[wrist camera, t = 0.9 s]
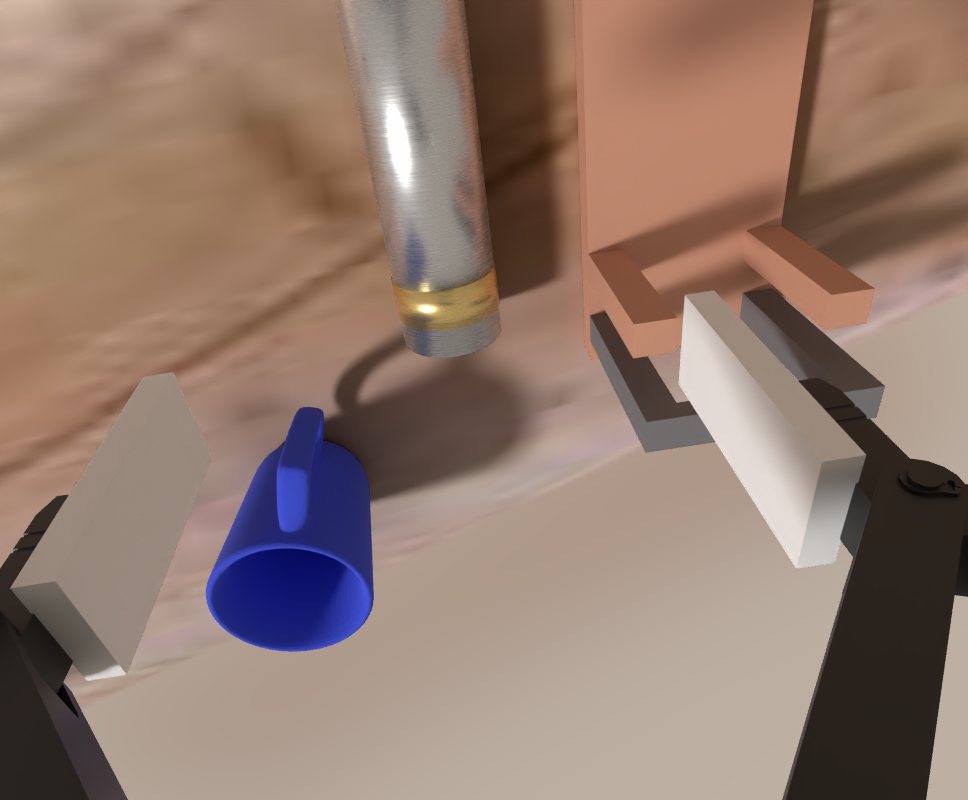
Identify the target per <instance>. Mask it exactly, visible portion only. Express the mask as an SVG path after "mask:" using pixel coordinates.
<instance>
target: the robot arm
mask: <svg viewBox="0 0 968 800" xmlns="http://www.w3.org/2000/svg"><path fill="white" fill-rule="evenodd" d="M679 385H680V387H681V388H682V390H683V392H684V393H685V395H686V396H687V398H688V399H689V401H690V403H691V404H692V406H693V407H694V409H695V410H696V412H697V414H698V415H699V417H700V418H701V420H702V421H703V423H704V425H705V426H706V428H707V429H708V431H709V432H710V434H711V435H712V437H713V439H714V440H715V442H716V443H717V445H718V446H719V448H720V450H721V451H722V453H723V454H724V456H725V457H726V459H727V461H728V462H729V464H730V465H731V467H732V468H733V470H734V472H735V473H736V475H737V476H738V478H739V479H740V481H741V482H742V484H743V486H744V487H745V488H746V490H747V492H748V494H749V495H750V497H751V498H752V500H753V501H754V503H755V505H756V506H757V508H758V509H759V511H760V512H761V514H762V515H763V517H764V519H765V520H766V522H767V523H768V525H769V526H770V528H771V530H772V531H773V533H774V534H775V536H776V537H777V539H778V541H779V542H780V544H781V545H782V547H783V548H784V550H785V552H786V553H787V555H788V556H789V558H790V559H791V561H792V562H793V564H794V566H795V567H796V569H798V568H804V567H810V566H816V565H823V564H829V563H835V560H836V557H837V554H838V550H839V547H840V543H841V541H842V543H843V544H844V545H845V547H846V548H847V549H848V551H849V552H850V553H851V555H852V556H853V561H852V564H851V567H850V570H849V573H848V577H847V580H846V583H845V586H844V589H843V592H842V598H841V601H840V604H839V608H838V611H837V615H836V618H835V622H834V625H833V628H832V632H831V635H830V639H829V642H828V645H827V649H826V652H825V656H824V659H823V663H822V666H821V669H820V673H819V676H818V680H817V683H816V686H815V690H814V694H813V697H812V700H811V703H810V707H809V710H808V714H807V717H806V721H805V724H804V727H803V731H802V734H801V738H800V741H799V745H798V748H797V751H796V755H795V759H794V762H793V765H792V769H791V772H790V776H789V779H788V782H787V786H786V789H785V792H784V796H783V799H782V800H926V796H927V789H928V782H929V775H930V768H931V760H932V753H933V746H934V739H935V732H936V724H937V717H938V709H939V703H940V695H941V688H942V681H943V674H944V667H945V660H946V652H947V645H948V638H949V630H950V624H951V616H952V609H953V602H954V595H958V596H967V597H968V485H967V484H964V482H963V481H962V480H961V479H960V478H959V477H958V476H957V475H956V474H954V473H953V472H951V471H950V470H948V469H946V468H945V467H943V466H940V465H937V464H934V463H931V462H929V461H924V460H917V459H910V458H909V457H908V456H907V455H906V454H905V453H904V452H903V451H902V450H901V449H900V448H899V447H898V446H897V445H895V443H894V442H893V441H892V440H891V439H890V438H889V437H887V435H885V434H884V433H883V431H882V430H881V429H880V428H879V427H877V426H876V425H875V423H874V422H872V421H871V419H867V415H866V414H865V413H864V412H862V411H861V410H860V409H859V408H858V407H855V404H854V403H853V402H852V401H851V400H850V399H849V398H848V397H847V396H846V395H845V394H844V393H843V392H842V391H841V390H840V389H839V388H837V387H835V386H833V385H831V384H829V383H827V382H825V381H823V380H821V379H819V378H813V379H806V380H800V381H798V380H797V379H796V378H795V377H794V376H793V375H792V374H791V373H790V372H789V371H788V370H787V368H786V367H785V366H784V365H783V364H782V363H781V362H780V361H779V360H778V359H777V358H776V357H775V356H774V354H773V353H772V352H771V351H770V350H769V349H768V348H767V347H766V346H765V345H764V344H763V343H762V341H761V340H760V339H759V338H758V337H757V336H756V335H755V334H754V333H753V332H752V331H751V330H750V328H749V327H748V326H747V325H746V324H745V323H744V322H743V321H742V320H741V319H740V318H739V317H738V315H737V314H736V313H735V312H734V311H733V310H732V309H731V308H730V307H729V306H728V305H727V304H726V302H725V301H724V300H723V299H722V298H721V297H720V296H719V295H718V294H717V293H716V292H715V291H707V292H700V293H694V294H687V295H685V300H684V314H683V329H682V344H681V358H680V373H679ZM211 458H212V454H211V452H210V450H209V447H208V445H207V443H206V441H205V439H204V437H203V435H202V433H201V430H200V428H199V426H198V424H197V422H196V420H195V418H194V415H193V413H192V411H191V409H190V407H189V405H188V403H187V401H186V398H185V396H184V394H183V392H182V390H181V388H180V386H179V383H178V381H177V379H176V377H175V375H174V373H166V374H160V375H153V376H147V377H143V378H142V380H141V381H140V383H139V384H138V386H137V388H136V389H135V391H134V392H133V394H132V395H131V397H130V399H129V400H128V402H127V403H126V405H125V407H124V408H123V410H122V411H121V413H120V415H119V416H118V418H117V419H116V421H115V422H114V424H113V426H112V427H111V429H110V430H109V432H108V434H107V435H106V437H105V438H104V440H103V442H102V443H101V445H100V446H99V448H98V449H97V451H96V453H95V454H94V456H93V457H92V459H91V461H90V462H89V464H88V465H87V467H86V468H85V470H84V472H83V473H82V475H81V476H80V478H79V480H78V481H77V483H76V484H75V486H74V488H73V489H72V491H71V492H70V494H69V495H63V496H57V497H56V498H55V499H53V500H52V501H51V502H50V503H49V504H48V505H47V506H46V507H44V508H43V509H42V510H41V511H40V512H39V513H38V514H37V515H36V516H35V517H34V519H33V520H32V522H31V523H30V525H29V526H28V528H27V529H26V531H25V532H24V537H22V538H20V540H19V541H18V543H17V544H16V546H15V547H14V549H13V551H14V552H13V553H10V555H9V556H8V558H7V559H6V561H5V562H4V564H3V565H2V567H1V568H0V800H128V799H127V797H126V795H125V794H124V791H123V789H122V788H121V786H120V784H119V782H118V780H117V778H116V776H115V774H114V772H113V770H112V768H111V766H110V764H109V763H108V761H107V759H106V757H105V755H104V753H103V751H102V749H101V748H100V745H99V743H98V742H97V740H96V738H95V736H94V734H93V732H92V730H91V728H90V726H89V724H88V722H87V720H86V718H85V717H84V715H83V713H82V711H81V709H80V707H79V705H78V703H77V701H76V699H75V697H74V695H73V693H72V692H71V690H70V689H69V688H68V687H67V686H66V685H65V684H64V679H65V677H66V675H67V673H68V671H69V669H70V667H71V665H72V663H73V665H74V666H75V667H76V668H77V669H78V671H79V672H80V673H81V674H82V675H83V677H84V678H85V679H86V680H87V681H89V680H96V679H102V678H108V677H115V676H121V675H127V673H128V670H129V668H130V665H131V662H132V660H133V657H134V655H135V652H136V650H137V647H138V645H139V642H140V639H141V637H142V634H143V632H144V629H145V627H146V624H147V622H148V619H149V616H150V614H151V611H152V609H153V606H154V604H155V601H156V599H157V596H158V593H159V591H160V588H161V586H162V583H163V581H164V578H165V576H166V573H167V570H168V568H169V565H170V563H171V560H172V558H173V555H174V553H175V550H176V547H177V545H178V542H179V540H180V537H181V535H182V532H183V530H184V527H185V524H186V522H187V519H188V517H189V514H190V512H191V509H192V507H193V504H194V501H195V499H196V496H197V494H198V491H199V489H200V486H201V484H202V481H203V478H204V476H205V473H206V471H207V468H208V466H209V463H210V461H211Z"/></svg>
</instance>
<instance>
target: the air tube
mask: <svg viewBox="0 0 968 800" xmlns="http://www.w3.org/2000/svg"><path fill="white" fill-rule="evenodd" d="M334 2H335V7H336V12H337V16H338V21H339V26H340V31H341V35H342V40H343V45H344V50H345V55H346V59H347V64H348V69H349V74H350V79H351V83H352V88H353V93H354V98H355V103H356V107H357V112H358V117H359V122H360V127H361V131H362V136H363V141H364V146H365V151H366V155H367V160H368V165H369V170H370V174H371V179H372V184H373V189H374V194H375V198H376V203H377V208H378V213H379V218H380V222H381V227H382V232H383V237H384V242H385V246H386V251H387V256H388V261H389V266H390V270H391V275H392V276H391V280H392V285H393V290H394V295H395V299H396V304H397V309H398V314H399V318H400V320H401V323H402V328H403V333H404V337H405V342H406V345H407V347H408V348H409V349H410V350H411V351H413V352H415V353H417V354H419V355H423V356H427V357H435V358H448V357H457V356H462V355H466V354H470V353H473V352H476V351H478V350H481V349H483V348H485V347H487V346H488V345H490V344H491V343H493V342H494V341H495V340H496V339H497V338H498V336H499V335H500V332H501V322H500V313H499V296H498V287H497V278H496V269H495V262H494V260H493V251H492V242H491V234H490V225H489V216H488V207H487V198H486V189H485V181H484V172H483V163H482V154H481V145H480V136H479V127H478V119H477V110H476V101H475V92H474V83H473V74H472V66H471V57H470V48H469V39H468V30H467V21H466V12H465V4H464V0H334Z"/></svg>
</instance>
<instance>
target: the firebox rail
mask: <svg viewBox="0 0 968 800" xmlns="http://www.w3.org/2000/svg"><path fill="white" fill-rule="evenodd" d="M813 2H814V0H574V10H575V42H576V75H577V107H578V139H579V171H580V203H581V236H582V268H583V300H584V332H585V348H586V350H587V353H588V355H589V357H590V359H591V360H594V359H600V361H601V363H602V366H603V368H604V370H605V372H606V374H607V376H608V378H609V380H610V382H611V384H612V386H613V388H614V390H615V392H616V394H617V396H618V398H619V400H620V402H621V404H622V406H623V408H624V410H625V412H626V414H627V416H628V418H629V420H630V422H631V424H632V426H633V428H634V430H635V432H636V434H637V436H638V438H639V440H640V442H641V444H642V446H643V448H644V450H645V452H653V451H659V450H665V449H672V448H679V447H686V446H692V445H699V444H705V443H712V442H715V440H714V439H713V437H712V435H711V434H710V432H709V431H708V429H707V428H706V426H705V425H704V423H703V421H702V420H701V418H700V417H699V415H698V414H697V412H696V410H695V409H694V407H693V406H692V404H691V403H690V401H687V402H680V403H676V401H675V400H674V398H673V396H672V395H671V393H670V392H669V390H668V388H667V387H666V385H665V384H664V382H663V380H662V379H661V377H660V376H659V374H658V372H657V371H656V369H655V368H654V366H653V364H652V363H651V361H650V360H649V358H648V356H652V355H659V354H666V353H672V352H675V351H676V347H681V344H682V329H683V314H684V300H685V295H687V294H694V293H700V292H707V291H715V292H716V293H717V294H718V295H719V296H720V297H721V298H722V299H723V300H724V301H725V302H726V304H727V305H728V306H729V307H730V308H731V309H732V310H733V311H734V312H735V313H736V314H737V315H738V317H739V318H740V319H741V320H742V321H743V322H744V323H745V324H746V325H747V326H748V327H749V328H750V330H751V331H752V332H753V333H754V334H755V335H756V336H757V337H758V338H759V339H760V340H761V341H762V343H763V344H764V345H765V346H766V347H767V348H768V349H769V350H770V351H771V352H772V353H773V354H774V355H775V356H776V357H777V359H778V360H779V361H780V362H781V363H782V364H783V365H784V366H785V367H786V368H787V369H788V370H789V371H790V372H791V373H792V374H793V375H794V376H795V377H796V378H797V379H798V380H799V381H800V380H806V379H813V378H819V379H821V380H823V381H825V382H827V383H829V384H831V385H833V386H835V387H837V388H839V389H840V390H841V391H842V392H843V393H844V394H845V395H846V396H847V397H848V398H849V399H850V400H851V401H852V402H853V403H854V404H855V407H858V408H859V409H860V410H861V411H862V412H864V413H865V414H866V415H867V419H870V418H876V417H877V413H878V410H879V406H880V402H881V399H882V395H883V392H884V388H885V386H884V385H883V384H882V383H881V382H880V381H878V380H877V379H876V378H875V377H874V376H873V375H872V374H870V373H869V372H868V371H867V370H866V369H864V368H863V367H862V366H861V365H860V364H859V363H858V362H856V361H855V360H854V359H853V358H852V357H851V356H849V355H848V354H847V353H846V352H845V351H844V350H843V349H841V348H840V347H839V346H838V345H837V344H836V343H834V342H833V341H832V340H831V339H830V338H829V337H827V336H826V335H825V334H824V333H823V332H822V331H820V330H819V329H818V328H817V327H816V326H815V325H814V324H812V323H811V322H810V321H809V320H808V319H807V318H805V317H804V316H803V315H802V314H801V313H800V312H798V311H797V310H796V309H795V308H794V307H793V306H792V305H790V304H789V303H788V302H787V301H786V300H785V299H783V298H782V297H781V296H780V295H779V294H778V293H776V292H775V291H774V290H773V289H772V285H773V286H774V287H775V288H776V289H777V290H779V291H780V292H781V293H782V294H783V295H784V296H786V297H787V298H788V299H789V300H790V301H791V302H793V303H794V304H795V305H796V306H797V307H799V308H800V309H801V310H802V311H803V312H804V313H806V314H807V315H808V316H809V317H810V318H811V319H813V320H814V321H815V322H816V323H817V324H818V325H820V326H821V327H822V328H823V329H824V330H826V329H833V328H840V327H846V326H853V325H860V324H866V323H867V319H868V315H869V311H870V307H871V302H872V298H873V294H874V290H875V288H873V287H872V286H870V285H869V284H867V283H866V282H864V281H863V280H861V279H860V278H858V277H857V276H855V275H854V274H852V273H851V272H849V271H848V270H846V269H845V268H843V267H842V266H840V265H839V264H837V263H836V262H834V261H833V260H831V259H830V258H828V257H827V256H825V255H824V254H822V253H821V252H820V251H818V250H817V249H815V248H814V247H812V246H811V245H809V244H808V243H806V242H805V241H803V240H802V239H800V238H799V237H797V236H796V235H794V234H793V233H791V232H790V231H788V230H787V229H785V228H784V227H782V226H781V222H782V215H783V208H784V201H785V194H786V187H787V180H788V174H789V167H790V160H791V153H792V146H793V139H794V133H795V126H796V119H797V112H798V105H799V98H800V91H801V85H802V78H803V71H804V64H805V57H806V50H807V43H808V37H809V30H810V23H811V16H812V9H813Z"/></svg>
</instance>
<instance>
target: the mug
mask: <svg viewBox="0 0 968 800" xmlns="http://www.w3.org/2000/svg"><path fill="white" fill-rule="evenodd" d="M323 434H324V414H323V411H322V410H321V409H319V408H313V407H303V408H300V409H299V410H298V411H297V413H296V415H295V417H294V419H293V422H292V424H291V427H290V429H289V432H288V435H287V438H286V441H285V444H284V445H283V446H281V447H279V448H277V449H276V450H274V451H273V452H272V453H271V454H270V455H268V456H267V457H266V458H265V460H264V461H263V462H262V463H261V465H260V466H259V468H258V470H257V472H256V474H255V476H254V478H253V480H252V482H251V484H250V487H249V489H248V491H247V494H246V496H245V498H244V500H243V503H242V505H241V507H240V509H239V512H238V514H237V516H236V518H235V521H234V523H233V525H232V527H231V530H230V532H229V534H228V536H227V539H226V541H225V543H224V546H223V548H222V550H221V552H220V555H219V557H218V559H217V561H216V564H215V566H214V568H213V570H212V573H211V575H210V577H209V580H208V583H207V588H206V599H207V604H208V607H209V610H210V612H211V614H212V615H213V617H214V618H215V620H216V621H217V622H218V623H219V624H220V625H221V626H222V627H223V628H224V629H225V630H226V631H227V632H229V633H230V634H232V635H233V636H235V637H237V638H238V639H240V640H242V641H245V642H247V643H249V644H252V645H255V646H258V647H262V648H266V649H270V650H277V651H290V652H292V651H308V650H314V649H320V648H324V647H327V646H330V645H333V644H335V643H338V642H340V641H342V640H344V639H346V638H348V637H349V636H351V635H352V634H353V633H355V632H356V631H357V630H358V629H359V628H360V627H361V626H362V625H363V624H364V623H365V621H366V620H367V618H368V616H369V614H370V612H371V609H372V606H373V600H374V599H373V598H374V592H373V565H372V539H371V513H370V490H369V483H368V479H367V475H366V473H365V471H364V469H363V467H362V465H361V464H360V462H359V461H358V460H357V459H356V457H355V456H354V455H352V454H351V453H350V452H349V451H347V450H346V449H344V448H343V447H341V446H339V445H336V444H333V443H330V442H327V441H323Z"/></svg>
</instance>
